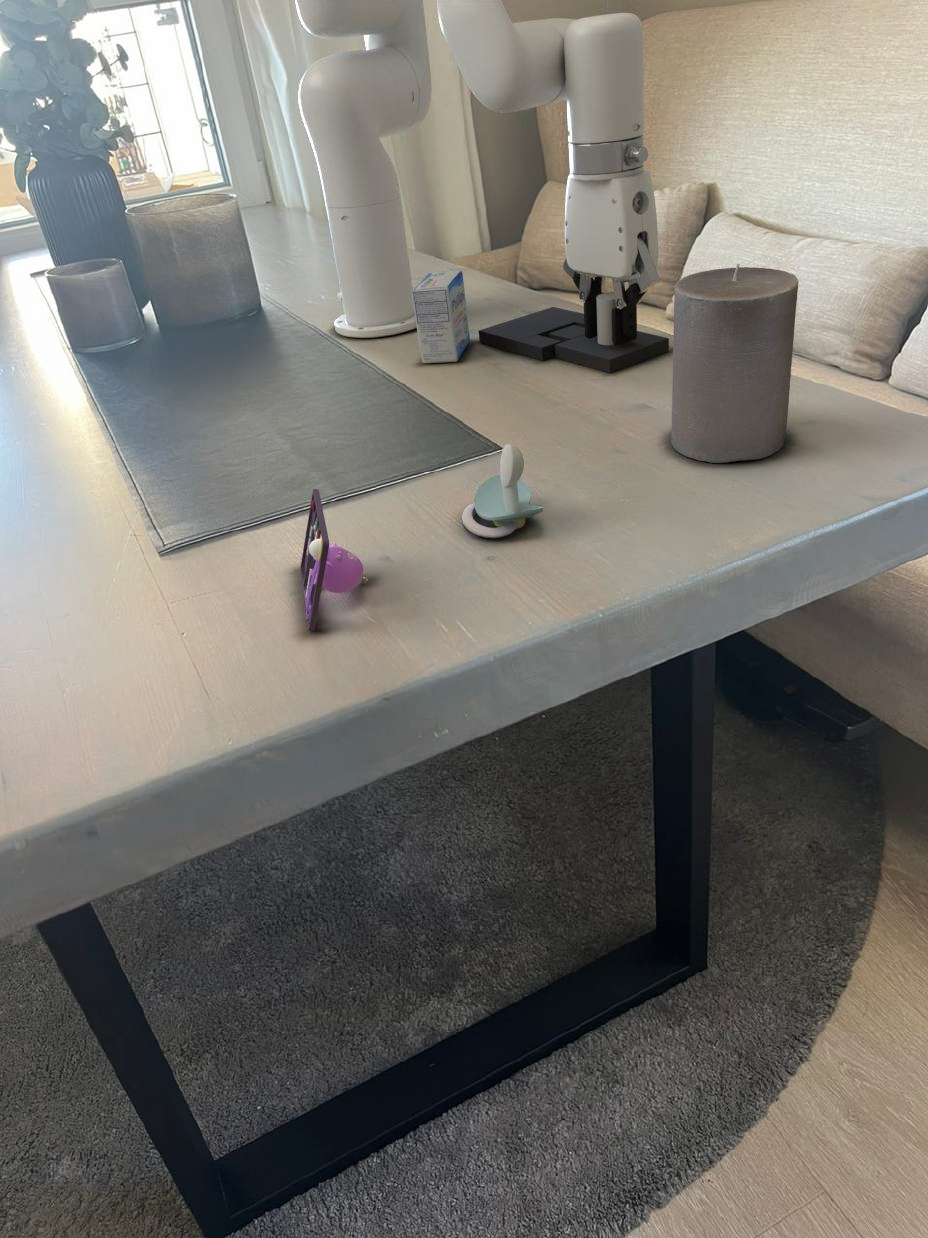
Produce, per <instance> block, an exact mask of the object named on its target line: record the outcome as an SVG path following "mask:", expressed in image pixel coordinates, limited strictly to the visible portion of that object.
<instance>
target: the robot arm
mask: <svg viewBox="0 0 928 1238" xmlns="http://www.w3.org/2000/svg"><path fill="white" fill-rule="evenodd" d="M294 1H295V6H296V11H297V14H298V17H299V20H300V21H301V24H302V25H303V27H304V28H305V30H306V31H307V32H308V33H309V34H311V35H312V36H313V37H316V38H320V39H324V40H343V39H350V38H351V39H352V38H358V37H363V38H364V42H365V48H366V49H357V50H350V51H344V52H343V51H342V52H338V53H332V54H329V55H326V56H324V57H322V58H319V59H317V60H315V61H314V62H313V63H312V64H311V65H309V67H308V68H307V69H306V70H305V72H304V74H303V75H302V78H301V80H300V83H299V89H298V105H299V109H300V114H301V117H302V121H303V123H304V127H305V129H306V132H307V135H308V137H309V141H310V143H311V147H312V149H313V152H314V157H315V160H316V164H317V168H318V173H319V177H320V182H321V187H322V192H323V199H324V204H325V209H326V215H327V220H328V225H329V233H330V237H331V244H332V250H333V256H334V261H335V266H336V267H335V268H336V273H337V278H338V283H339V290H340V291H339V292H338V293H337V295H336V300H337V302H338V303H341V304H342V306H343V307H342V308H343V312H344V314H342V315H340V316H338V318H337V319H335V321H334V329H335V331H336V334H337V333H338V334H339V335H341V336H343V337H347V338H356V339H357V338H358V339H366V338H367V339H368V338H369V339H370V338H382V337H388V336H394V335H398V334H402V333H406V332H409V331H412V330H415V329H417V325H416V319H415V312H414V305H413V297H412V291H413V290H414V289H413V280H412V279H413V278H412V273H411V266H410V265H411V264H410V257H409V250H408V243H407V242H408V241H407V234H406V233H407V232H406V226H405V218H404V212H403V205H402V198H401V197H402V196H401V190H400V182H399V179H398V174H397V171H396V168H395V166H394V163H393V161H392V159H391V157H390V155H389V154H388V152H387V151H386V148H385V147H384V145H383V143H382V141H381V138H387V137H390V136H394V135H398V134H402V133H406V132H409V131H411V130H414V129H415V128H416V127H418V126H419V125H420V124H422V122H423V121H424V120H425V119H426V116H427V114H428V113H429V110H430V107H431V101H432V74H431V62H430V54H429V46H428V34H427V26H426V18H425V17H426V16H425V8H424V0H294ZM436 11H437V16H438V22H439V25H440V29H441V32H442V34H443V37H444V40H445V43H446V45H447V46H448V49H449V51H450V53H451V55H452V57H453V59H454V61H455V63H456V66H457V68H458V70H459V71H460V74H461V76H462V78H463V80H464V82H465V83H466V86H467V87H468V88H469V90H470V91H471V93H472V94H473V96H474V97H475V99H477V100H478V101H479V102H480V103H481V105H482V106H484V107H485V108H487V109H488V110H490V111H492V112H495V113H498V114H512V113H517V112H522V111H526V110H530V109H533V108H538V107H545V106H549V105H552V104H557V103H560V102H561V103H562V102H565V101H566V115H567V117H566V119H567V140H568V160H569V161H568V163H569V174H568V176H567V182H566V192H565V205H564V208H565V209H564V246H565V258H564V261H563V265H562V269H563V271H564V272H565V273H566V274H567V275H568V276H569V277H570V278H571V280H572V281H573V284H574V286H576V288H577V290H578V298H579V300H580V301H581V302H583V314H584V326H585V337H586V338H589V339H591V338H594V337H597V336H598V332H597V298H596V297H597V296H598V295H600V294H603V293H605V288H606V278H607V279H611V280H612V286H613V287H612V288H613V292H614V296H615V303H616V308H613V309H612V342H613V344H614V345H617V346H619V345H622V344H624V343H627V342H630V341H633V340H635V339H636V338H637V331H638V304H641V302H642V299H643V296H644V295H645V294H646V293H647V291H649V290H650V289H651V288H653V287H655V286H656V285H657V284H658V283H660V274H659V272H658V270H657V268H658V265H659V230H658V229H659V228H658V217H657V206H656V199H655V192H654V191H655V190H654V187H653V181H652V177H651V173H650V170H649V171H648V170H645V162H646V161H647V160H648V156H649V151H648V148H647V147H645V127H644V126H645V124H644V123H645V120H644V119H645V116H644V115H645V114H644V113H645V108H644V107H645V106H644V105H645V95H644V93H645V89H644V88H645V85H644V84H645V79H644V77H645V76H644V75H645V73H644V72H645V71H644V68H645V67H644V61H645V60H644V27H643V24H642V21H641V19H640V18H639V16H638V15H636V14H634V13H631V12H618V13H608V14H599V15H593V16H586V17H581V18H578V19H577V18H564V17H553V18H552V17H551V18H543V19H533V20H532V19H531V20H525V21H517V22H512V19H511V18H510V16H509V13H508V12H507V10H506V7H505V5H504V3H503V1H502V0H436ZM625 283H627V284H628V287H627V289H626V287H625Z"/></svg>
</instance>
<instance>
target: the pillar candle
mask: <svg viewBox="0 0 928 1238" xmlns="http://www.w3.org/2000/svg"><path fill="white" fill-rule="evenodd" d="M798 291H799V279H798V277H797V276H796V275H795V274H794V273H790V272H788V271H786V270H781V269H774V268H765V267H756V266H755V267H753V266H752V267H748V266H745V267H744V266H743V267H742V266H740V263H738V264H736V267H724V268H716V269H710V270H704V271H700V272H699V271H698V272H695V273H692V274H689V275H686V276H684V277H682V278H680V279H679V280H677V281H676V283H675V285H674V296H673V297H674V299H673V300H674V301H673V338H672V339H673V341H672V348H673V349H672V388H671V389H672V390H671V392H672V393H671V433H670V434H671V436H670V442H671V446H672V447H673V449H674V450H675V451H676V452H678V453H679V454H681V455H682V456H685V457H688V458H689V459H694V460H696V461H700V462H708V463H713V464H722V463H723V464H725V463H731V462H738V461H739V462H740V461H754V460H755V461H756V460H761V459H765V458H768V457H770V456H772V455H774V454H775V453H777V452H778V451H780V450H781V449H782V447H783V446H784V444H785V439H786V435H787V424H788V417H789V402H790V391H791V389H790V388H791V378H792V364H793V351H794V340H795V339H794V338H795V329H796V328H795V326H796V313H797V303H798Z"/></svg>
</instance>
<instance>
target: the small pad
mask: <svg viewBox="0 0 928 1238" xmlns="http://www.w3.org/2000/svg"><path fill="white" fill-rule="evenodd" d="M596 298H597V332H598V336H597V337H594V338H591V339H589V338H586V337H585V328H584V327H580V326H576V325H572V326H569V327H566V328H563V329H560V330H557V331H554V332H551V333H549V338H551V339H555V340H559V341H562V343H559V344H556V345H555V358H556V359H559V360H563V361H566V362H570V363H573V364H577V365H580V366H584V367H588V368H590V369H594V370H598V371H601V372H605V373H608V374H612V373H614V372H617V371H619V370H623V369H625V368H628V367H630V366H633V365H636V364H638V363H641V362H643V361H647V360H649V359H651V358H654V357H657V356H660V355H663V354H665V353H668V352H669V351H670V338H669V337H665V336H662V335H657V334H652V333H648V332H644V331H641V330H640V331H639V330H637V338H636V339H635V340H633V341H630V342H627V343H624V344H622V345H619V346H617V345H614V344H613V342H612V309H613V308H616V303H615V296H614V291H610V292H604V293H603V294H600V295H598V296H597V297H596Z"/></svg>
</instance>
